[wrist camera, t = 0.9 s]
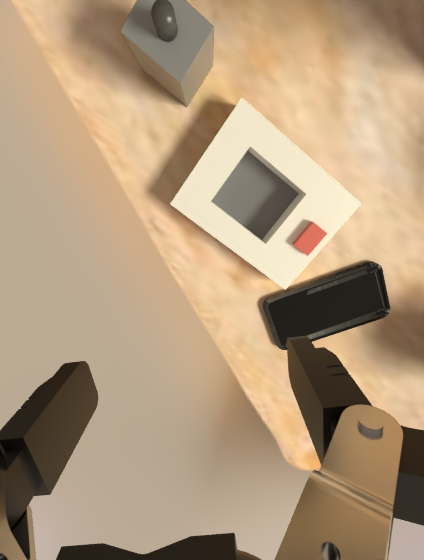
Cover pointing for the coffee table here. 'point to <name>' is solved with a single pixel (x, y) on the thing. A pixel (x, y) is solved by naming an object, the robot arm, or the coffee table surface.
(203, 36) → the plug
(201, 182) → the socket plate
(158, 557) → the robot arm
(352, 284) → the phone
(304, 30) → the coffee table surface
